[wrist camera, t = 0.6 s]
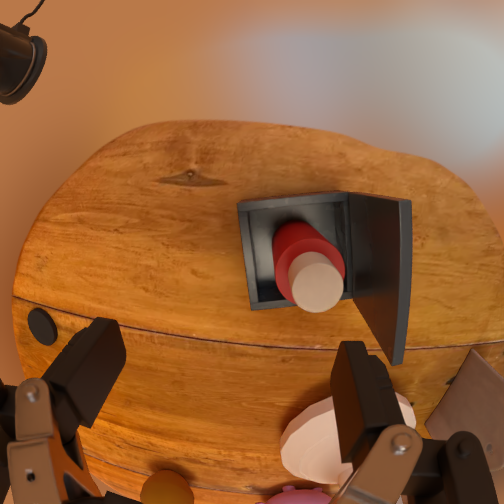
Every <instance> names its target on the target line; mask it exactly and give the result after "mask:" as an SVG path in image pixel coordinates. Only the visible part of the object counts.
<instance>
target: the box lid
mask: <svg viewBox="0 0 504 504" xmlns="http://www.w3.org/2000/svg"><path fill="white" fill-rule="evenodd" d="M348 197H349V209H350V223H351V241H352V268H353V301H354V303H355V305H356V306H357V308H358V309H359V311H360V313H361V314H362V316H363V318H364V319H365V321H366V323H367V324H368V326H369V328H370V329H371V331H372V333H373V334H374V336H375V338H376V340H377V341H378V343H379V345H380V346H381V348H382V350H383V352H384V353H385V355H386V357H387V359H388V361H389V362H390V364H391V366H395V365H399V364H402V362H403V356H404V350H405V343H406V335H407V327H408V318H409V307H410V295H411V278H412V205H411V200H407V199H401V198H395V197H389V196H383V195H376V194H369V193H362V192H348Z"/></svg>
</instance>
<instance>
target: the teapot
mask: <svg viewBox="0 0 504 504" xmlns="http://www.w3.org/2000/svg"><path fill="white" fill-rule="evenodd" d="M282 490H283V493H279V494H277V495H275V496H273V497H272V498H270V499H269V500H268V501H267V502H266V503H263V502H258V503H255V504H328V503H329V502H330V501H331V498H330V497H329V496H328V495H326V494H324V493H322V492H321V491H322V490H323V489H322V488H313V489H311V490H307V489H303V490H295V487H294V486H285V487H283V488H282Z"/></svg>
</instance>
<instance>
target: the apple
mask: <svg viewBox="0 0 504 504" xmlns="http://www.w3.org/2000/svg"><path fill="white" fill-rule="evenodd" d="M140 499H141V503H143V504H194V495H193V492H192V490H191V489H190V487H189V485H188V484H187V482H186V480H185V479H184V478H183V477H182V476H181V475H180V474H178V473H177V472H175V471H172V470H160V471H158V472H156V473H154V474H153V475H152V476H150V477H149V478H148V479H147V480H146V482H145V483H144V484H143V487H142V491H141V494H140Z"/></svg>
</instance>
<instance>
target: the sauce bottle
mask: <svg viewBox="0 0 504 504" xmlns="http://www.w3.org/2000/svg"><path fill="white" fill-rule="evenodd" d="M271 246H272V255H273V264H274V273H275V280H276V284H277V287H278V289H279V291H280V292H281V294H282V295H283V296H284V297H285V298H286V299H287V300H289V301H290V302H292V303H294V304H296V305H298V306H299V307H300V308H302V309H303V310H305V311H308V312H313V313H318V312H323V311H326V310H329V309H330V308H332V307H333V306H334V305H335V304H336V303H337V302H338V301H339V299H340V298H341V295H342V293H343V286H344V285H343V281H344V276H345V264H344V260H343V258H342V256H341V254H340V252H339V251H338V250H337V249H336V248H335V247H334V246H333V245H332V244H331V243H330V242H329V241H328V240H327V239H326V238H325V237H324V236H323V235H321V234H320V233H319V232H318V231H317V230H316V229H315V228H314V227H313V226H312V225H310V224H309V223H307V222H305V221H301V220H291V221H287V222H285V223H283V224H282V225H281V226H279V227H278V228H277V230H276V231H275V233H274V235H273V237H272V243H271Z"/></svg>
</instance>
